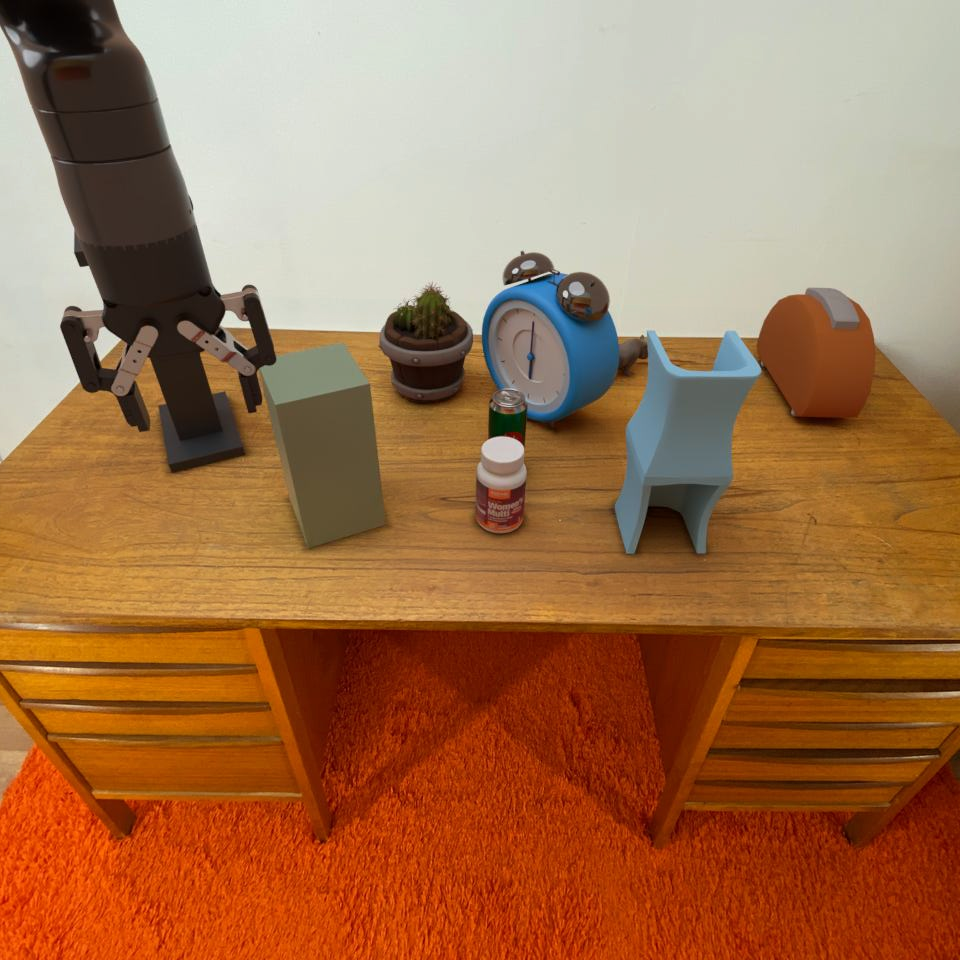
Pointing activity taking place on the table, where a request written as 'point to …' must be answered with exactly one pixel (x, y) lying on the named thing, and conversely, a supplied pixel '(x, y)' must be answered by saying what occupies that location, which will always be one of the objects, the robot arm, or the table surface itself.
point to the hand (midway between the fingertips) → (200, 417)
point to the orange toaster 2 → (819, 353)
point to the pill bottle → (501, 485)
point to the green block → (325, 441)
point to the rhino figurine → (632, 353)
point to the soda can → (508, 415)
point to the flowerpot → (426, 348)
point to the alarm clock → (551, 338)
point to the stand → (190, 410)
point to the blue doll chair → (683, 438)
